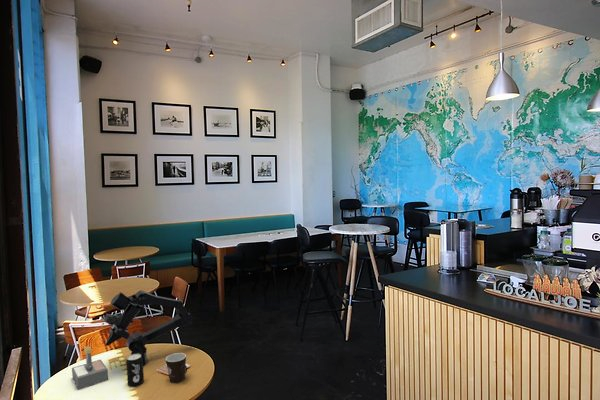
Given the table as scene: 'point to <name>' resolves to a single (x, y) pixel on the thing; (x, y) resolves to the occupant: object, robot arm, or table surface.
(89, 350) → the breaker lever
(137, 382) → the beverage can
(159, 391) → the table surface
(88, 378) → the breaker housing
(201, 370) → the table surface
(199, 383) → the table surface
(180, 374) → the coffee mug
